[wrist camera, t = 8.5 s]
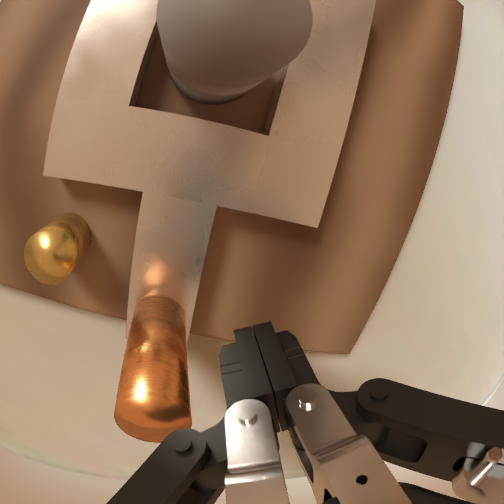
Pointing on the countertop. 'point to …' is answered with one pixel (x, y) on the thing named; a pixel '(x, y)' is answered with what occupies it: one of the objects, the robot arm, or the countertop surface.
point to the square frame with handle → (194, 175)
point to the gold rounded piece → (57, 248)
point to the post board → (249, 118)
